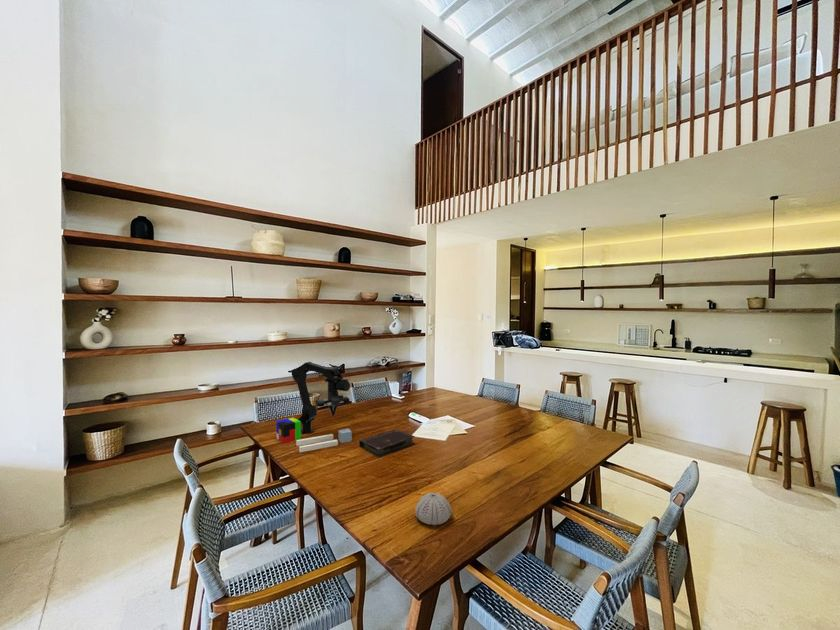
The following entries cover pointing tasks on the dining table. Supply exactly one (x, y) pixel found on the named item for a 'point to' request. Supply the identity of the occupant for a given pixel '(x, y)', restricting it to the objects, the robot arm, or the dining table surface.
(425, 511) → the sea urchin shell
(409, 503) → the dining table surface
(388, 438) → the diary
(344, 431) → the block
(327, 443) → the chute
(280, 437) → the puzzle toy
